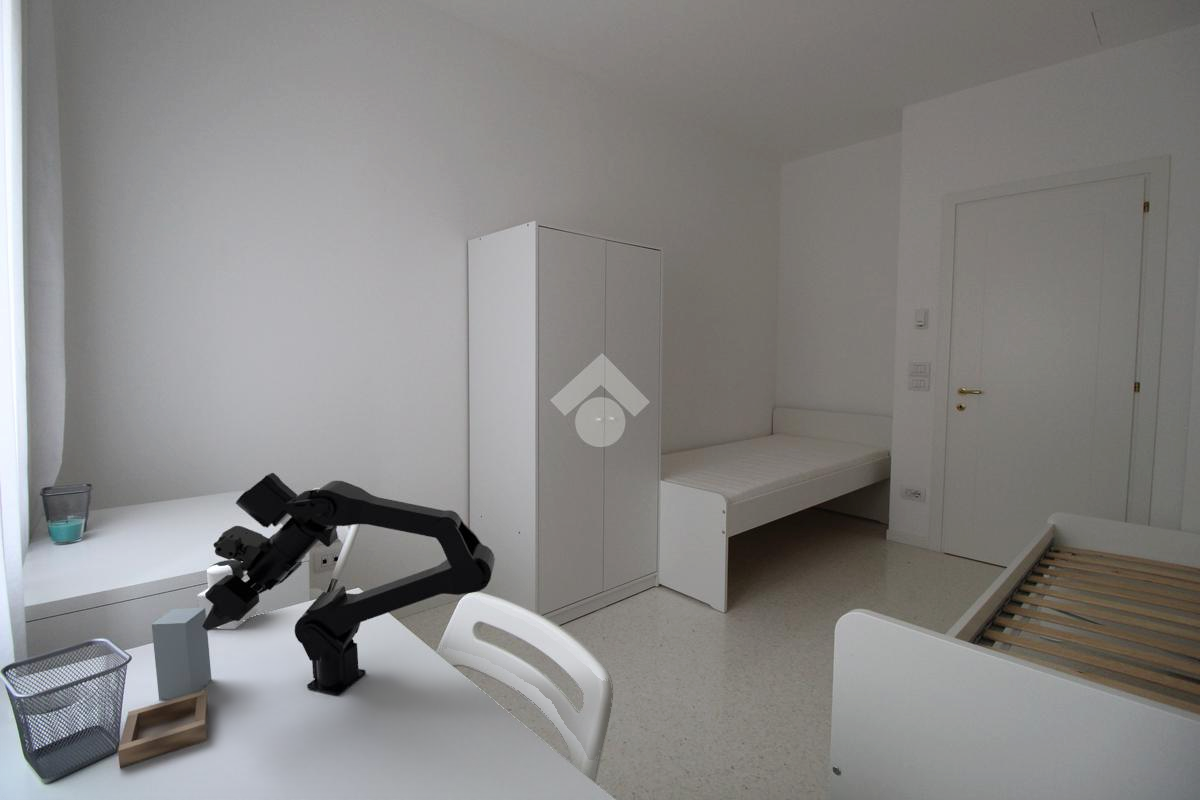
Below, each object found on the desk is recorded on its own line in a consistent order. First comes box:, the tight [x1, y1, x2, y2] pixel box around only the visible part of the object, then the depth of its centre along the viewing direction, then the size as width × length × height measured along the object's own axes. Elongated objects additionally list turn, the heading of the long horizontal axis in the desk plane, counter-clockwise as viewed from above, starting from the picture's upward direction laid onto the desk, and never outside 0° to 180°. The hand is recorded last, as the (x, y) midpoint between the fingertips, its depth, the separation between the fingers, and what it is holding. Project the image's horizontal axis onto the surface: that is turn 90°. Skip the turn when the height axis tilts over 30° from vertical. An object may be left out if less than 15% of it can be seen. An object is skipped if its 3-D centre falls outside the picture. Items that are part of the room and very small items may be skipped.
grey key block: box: [151, 607, 212, 701], centre depth 91 cm, size 5×5×12 cm
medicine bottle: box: [196, 559, 258, 630], centre depth 113 cm, size 7×7×12 cm
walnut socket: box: [117, 689, 209, 769], centre depth 81 cm, size 9×9×2 cm
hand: (223, 613), depth 91 cm, fingers open, 9 cm apart
